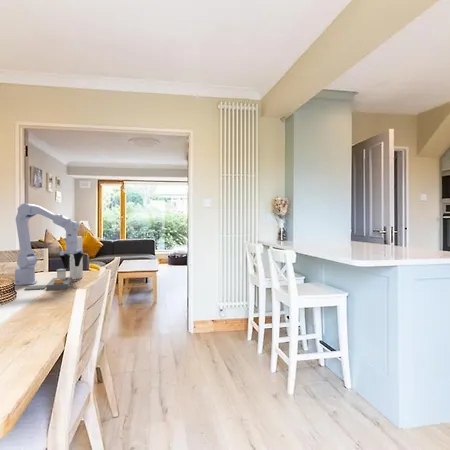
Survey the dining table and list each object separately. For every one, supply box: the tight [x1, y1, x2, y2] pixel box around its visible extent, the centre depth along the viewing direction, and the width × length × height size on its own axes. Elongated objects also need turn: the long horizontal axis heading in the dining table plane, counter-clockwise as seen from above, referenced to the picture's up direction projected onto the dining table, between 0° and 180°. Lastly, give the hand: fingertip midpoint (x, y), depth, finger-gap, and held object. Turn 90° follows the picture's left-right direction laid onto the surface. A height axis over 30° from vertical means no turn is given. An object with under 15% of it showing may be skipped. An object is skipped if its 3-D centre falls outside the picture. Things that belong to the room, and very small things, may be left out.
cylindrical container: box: [69, 235, 84, 280], centre depth 218 cm, size 7×7×25 cm
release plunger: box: [54, 279, 62, 284], centre depth 188 cm, size 4×4×3 cm
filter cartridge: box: [56, 268, 67, 280], centre depth 199 cm, size 5×5×8 cm
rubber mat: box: [24, 284, 47, 291], centre depth 188 cm, size 9×9×1 cm
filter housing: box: [45, 276, 73, 291], centre depth 195 cm, size 10×22×2 cm, turn 17°
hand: (71, 267), depth 199 cm, fingers open, 7 cm apart
